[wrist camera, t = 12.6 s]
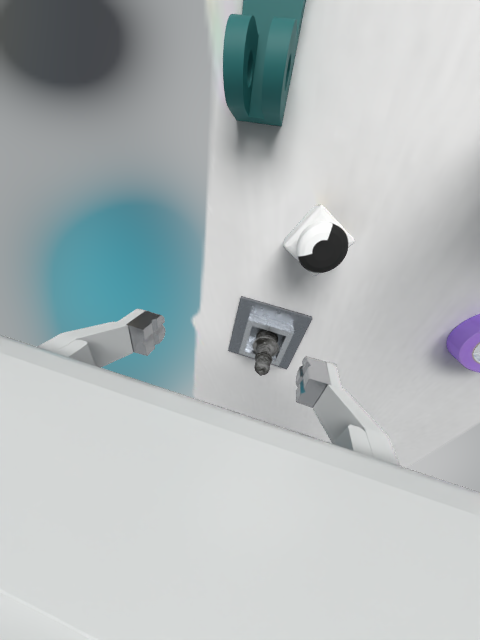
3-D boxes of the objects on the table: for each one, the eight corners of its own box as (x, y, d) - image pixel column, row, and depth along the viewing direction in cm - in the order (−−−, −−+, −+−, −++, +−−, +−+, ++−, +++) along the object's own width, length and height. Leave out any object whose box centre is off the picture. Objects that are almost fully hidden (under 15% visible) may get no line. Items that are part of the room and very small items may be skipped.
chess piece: (273, 351, 47) (268, 390, 37) (251, 341, 47) (241, 378, 37) (283, 334, 44) (282, 372, 34) (260, 324, 44) (251, 359, 34)
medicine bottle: (344, 234, 32) (368, 247, 22) (310, 265, 36) (318, 289, 26) (315, 203, 31) (327, 203, 21) (283, 239, 35) (281, 253, 25)
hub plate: (311, 316, 41) (313, 326, 38) (286, 366, 50) (286, 378, 47) (241, 296, 43) (237, 303, 39) (229, 348, 51) (225, 358, 48)
